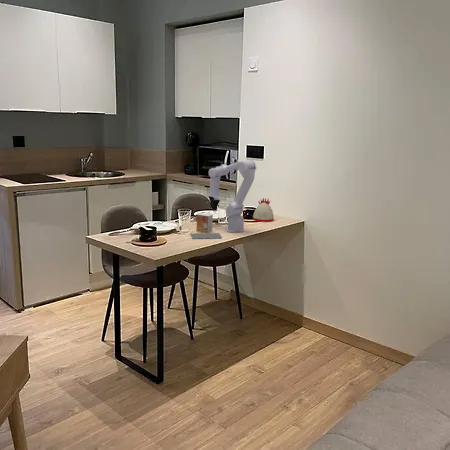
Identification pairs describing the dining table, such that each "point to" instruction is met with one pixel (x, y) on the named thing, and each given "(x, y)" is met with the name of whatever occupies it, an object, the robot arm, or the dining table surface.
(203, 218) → the small box
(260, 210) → the spiked white dome
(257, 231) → the dining table surface
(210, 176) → the robot arm
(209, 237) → the mat
